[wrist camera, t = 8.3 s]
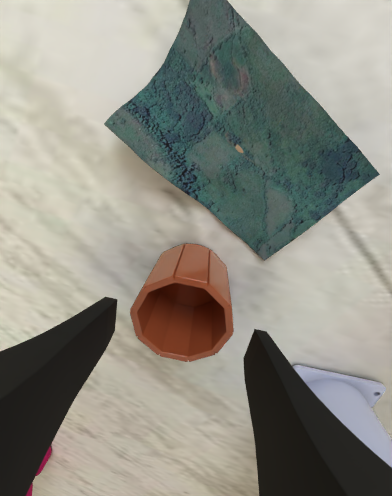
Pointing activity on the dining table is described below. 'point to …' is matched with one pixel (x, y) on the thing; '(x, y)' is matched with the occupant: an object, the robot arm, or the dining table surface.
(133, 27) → the dining table surface
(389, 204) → the dining table surface
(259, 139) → the terrain model
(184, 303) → the faceted terracotta tumbler
